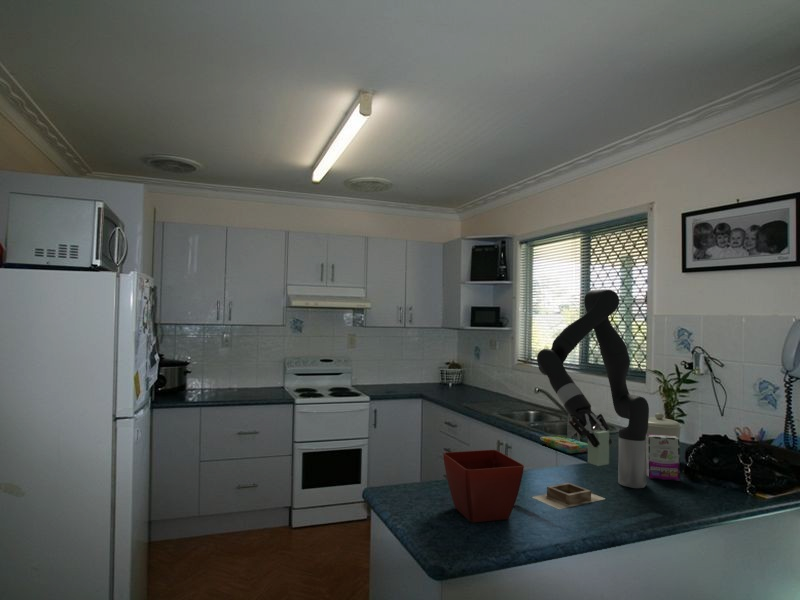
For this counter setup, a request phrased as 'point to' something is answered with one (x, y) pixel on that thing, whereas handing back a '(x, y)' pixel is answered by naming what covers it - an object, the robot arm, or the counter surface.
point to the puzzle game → (565, 444)
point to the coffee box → (572, 431)
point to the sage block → (599, 448)
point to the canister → (663, 426)
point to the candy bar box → (663, 457)
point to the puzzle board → (567, 496)
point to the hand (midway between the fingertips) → (603, 444)
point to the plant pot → (483, 483)
